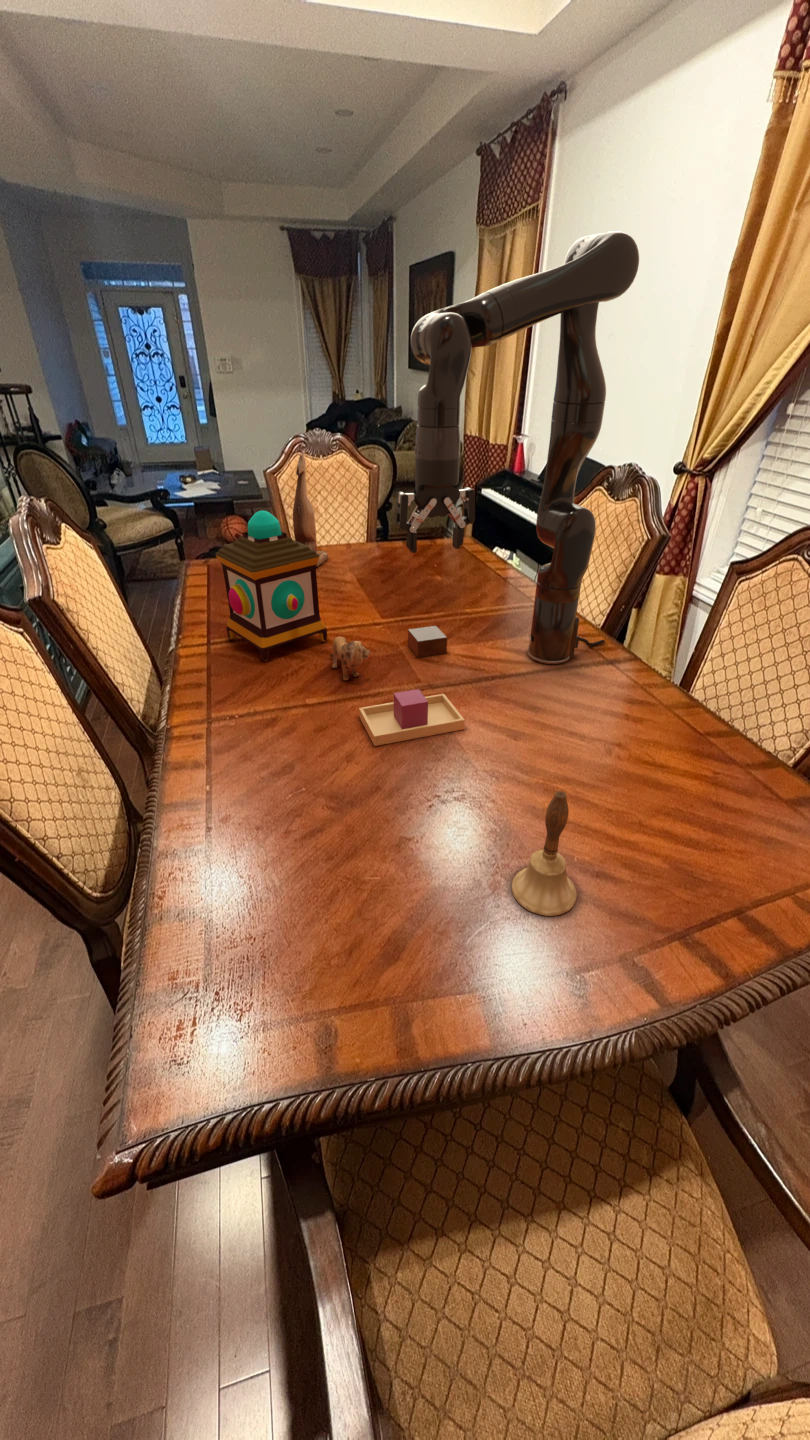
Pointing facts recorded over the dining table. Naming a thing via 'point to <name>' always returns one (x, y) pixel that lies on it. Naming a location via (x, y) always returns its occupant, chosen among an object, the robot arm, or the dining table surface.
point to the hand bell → (547, 869)
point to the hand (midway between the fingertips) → (434, 549)
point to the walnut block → (427, 641)
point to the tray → (389, 731)
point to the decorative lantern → (270, 586)
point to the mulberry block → (410, 709)
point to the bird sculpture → (305, 514)
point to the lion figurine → (348, 655)
